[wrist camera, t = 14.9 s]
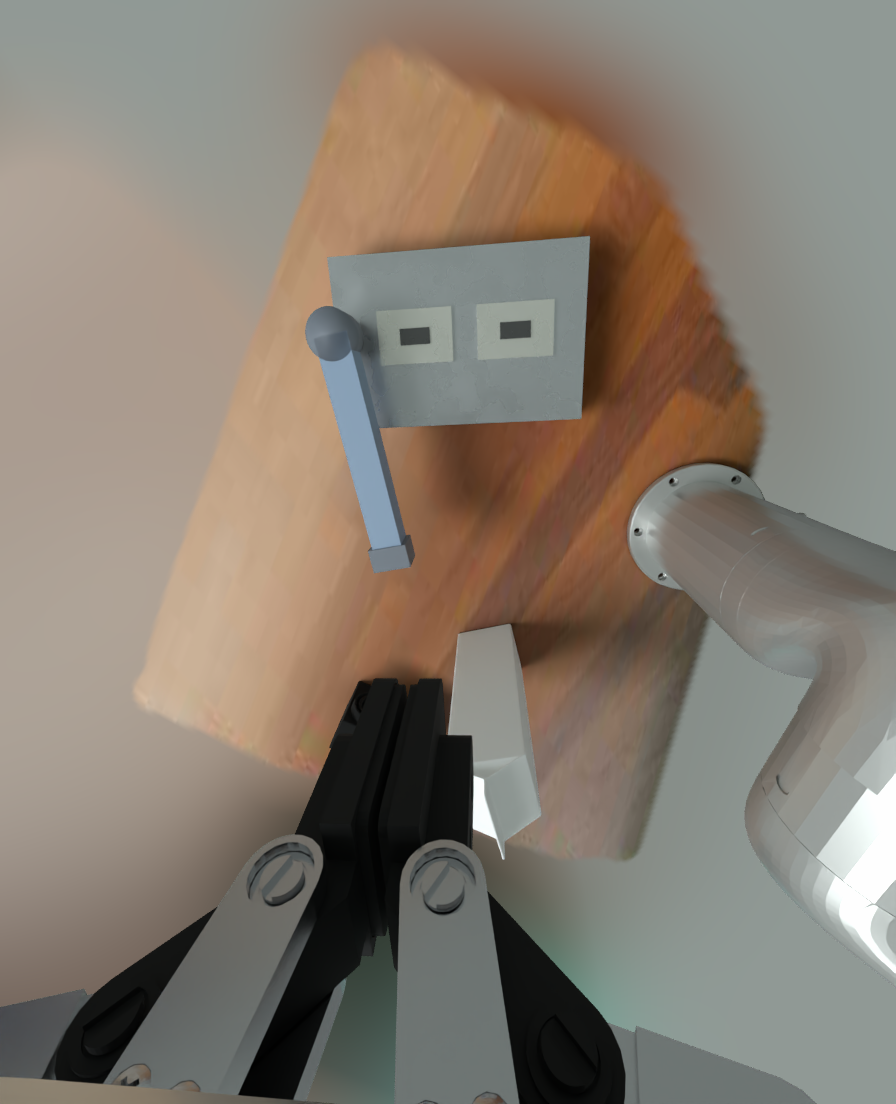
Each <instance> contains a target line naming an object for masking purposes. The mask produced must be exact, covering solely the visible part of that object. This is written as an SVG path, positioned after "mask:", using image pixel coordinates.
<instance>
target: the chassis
mask: <svg viewBox="0 0 896 1104" xmlns="http://www.w3.org/2000/svg"><path fill="white" fill-rule="evenodd" d="M589 247H590V236H586V237H574V238H561V239H549V240H536V241H524V242H512V243H499V244H487V245H475V246H462V247H450V248H437V249H425V250H413V251H400V252H388V253H376V254H363V255H351V256H338V257H327V259H328V267H329V275H330V284H331V292H332V300H333V307H336V308H338V309H340V310H342V311H344V312H345V313H347V314H349V315H351V316H352V317H353V318H355V320H356V321H357V322H358V323H359V325H360V327H361V329H362V332H363V346H362V350H361V352H360V353H361V357H362V361H363V365H364V369H365V373H366V377H367V381H368V385H369V389H370V393H371V397H372V401H373V406H374V410H375V414H376V418H377V422H378V426H379V428H392V427H414V426H435V425H457V424H478V423H500V422H521V421H543V420H564V419H581V414H582V393H583V372H584V351H585V330H586V310H587V289H588V268H589Z"/></svg>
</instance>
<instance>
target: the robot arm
mask: <svg viewBox="0 0 896 1104" xmlns="http://www.w3.org/2000/svg"><path fill="white" fill-rule="evenodd" d="M733 477H734V479H733V480H732V481H731V479H732V478H733ZM671 478H672V479H673V480H672V482H671V483H669V481H670V479H671ZM636 528H638V530H637V531H635V532H634V530H635V529H636ZM627 541H628V547H629V550H630V553H631V556H632V557H633V559H634V561H635V563H636V564H637V566H638V567H639V568H640V569H641V571H642V572H644V573H645V574H646V575H647V576H648V577H649V578H650V579H652V580H653V581H655V582H656V583H658V584H661V585H663V586H666V587H669V588H673V589H680V590H684V591H685V592H686V593H687V594H688V595H689V596H690V597H691V598H692V599H693V600H694V601H695V602H696V603H697V604H698V605H699V606H700V607H701V608H702V609H703V610H704V611H705V612H706V613H707V614H708V615H709V616H710V617H711V618H712V619H713V620H714V621H715V622H716V623H717V624H718V625H719V626H720V627H721V628H722V629H723V630H724V631H725V632H726V633H727V634H728V635H729V636H730V637H731V638H732V639H733V640H734V641H735V642H736V643H737V644H738V645H739V646H740V647H741V648H742V649H743V650H744V651H745V652H746V653H747V654H748V655H750V656H751V657H752V658H754V659H755V660H756V661H758V662H760V663H761V664H763V665H765V666H766V667H769V668H771V669H773V670H776V671H778V672H781V673H784V674H787V675H791V676H796V677H802V678H808V679H813V681H812V683H811V685H810V687H809V689H808V691H807V692H806V694H805V695H804V697H803V699H802V700H801V702H800V704H799V706H798V711H797V712H796V714H795V715H794V717H793V719H792V720H791V722H790V724H789V725H788V727H787V728H786V730H785V732H784V733H783V735H782V737H781V738H780V740H779V741H778V743H777V745H776V746H775V748H774V750H773V751H772V753H771V754H770V756H769V758H768V760H767V761H766V763H765V765H764V766H763V768H762V769H761V771H760V773H759V774H758V776H757V778H756V780H755V782H754V784H753V786H752V788H751V790H750V792H749V795H748V798H747V801H746V806H745V827H746V830H747V834H748V838H749V841H750V843H751V845H752V847H753V849H754V851H755V853H756V855H757V857H758V859H759V860H760V862H761V863H762V865H763V866H764V868H765V869H766V870H767V872H768V873H769V874H770V876H771V877H772V878H773V880H774V881H775V882H776V883H777V885H778V886H779V887H780V888H781V889H782V890H783V891H784V893H785V894H787V896H788V897H789V898H790V899H791V900H792V901H793V902H794V903H795V904H796V905H797V906H798V907H799V908H800V909H801V910H802V911H803V912H804V913H805V914H807V915H808V916H809V917H810V918H811V919H812V920H813V921H814V922H815V923H817V924H818V925H819V926H820V927H821V928H822V929H823V930H824V931H825V932H826V933H828V934H829V935H830V936H831V937H833V938H834V939H835V940H836V941H837V942H839V943H840V944H841V945H842V946H844V947H845V948H846V949H847V950H848V951H850V952H851V953H852V954H853V955H855V956H856V957H857V958H858V959H860V960H861V961H862V962H863V963H865V964H866V965H867V966H869V967H870V968H871V969H872V970H874V971H875V972H876V973H877V974H879V975H880V976H881V977H883V978H884V979H885V980H886V981H888V982H889V983H890V984H891V985H893V986H894V987H895V988H896V551H893V550H890V549H887V548H884V547H882V546H879V545H876V544H874V543H871V542H868V541H866V540H863V539H861V538H858V537H856V536H853V535H851V534H848V533H845V532H843V531H840V530H838V529H835V528H833V527H830V526H828V525H825V524H822V523H820V522H818V521H815V520H813V519H810V518H808V517H806V515H805V514H804V513H795V512H793V511H790V510H788V509H785V508H783V507H780V506H778V505H775V504H773V503H770V502H768V501H765V499H764V497H763V494H762V492H761V490H760V489H759V488H758V486H757V485H756V484H755V482H754V481H753V480H751V479H750V478H749V477H748V476H747V475H745V474H744V473H742V472H740V471H738V470H736V469H734V468H731V467H728V466H725V465H721V464H714V463H695V464H690V465H686V466H682V467H679V468H677V469H674V470H672V471H669V472H668V473H666V474H665V475H663V476H661V477H660V478H658V479H657V480H656V481H654V482H653V483H652V484H651V485H650V486H649V487H648V488H647V489H646V490H645V491H644V492H643V494H642V495H641V496H640V497H639V499H638V500H637V502H636V504H635V506H634V507H633V509H632V512H631V515H630V518H629V521H628V528H627ZM660 573H661V575H659V574H660ZM658 575H659V576H658ZM473 797H474V771H473V742H472V735H446V729H445V713H444V698H443V683H442V679H419V682H418V685H411V686H410V690H409V694H408V698H407V693H406V686H405V685H399V684H398V680H397V679H394V678H375V679H374V680H373V682H372V685H371V688H370V690H369V693H368V696H367V698H366V701H365V704H364V706H363V709H362V712H361V714H360V717H359V719H358V722H357V725H356V727H355V730H354V733H353V734H339V735H338V736H337V737H336V739H335V741H334V743H333V745H332V748H331V750H330V752H329V755H328V757H327V759H326V762H325V764H324V767H323V769H322V771H321V774H320V776H319V778H318V781H317V783H316V785H315V788H314V790H313V793H312V795H311V797H310V800H309V802H308V804H307V807H306V809H305V811H304V814H303V816H302V819H301V821H300V823H299V826H298V828H297V830H296V833H295V835H287V836H283V837H280V838H277V839H275V840H273V841H271V842H269V843H267V844H265V845H264V846H263V847H262V848H261V849H259V850H258V851H257V852H256V853H254V855H253V856H252V857H251V858H250V859H249V861H248V862H247V863H246V864H245V866H244V867H243V869H242V870H241V872H240V874H239V875H238V877H237V878H236V880H235V881H234V883H233V884H232V886H231V887H230V889H229V891H228V892H227V894H226V895H225V897H224V898H223V900H222V901H221V903H220V904H219V906H218V907H216V908H215V909H214V910H212V911H211V912H209V913H207V914H206V915H205V916H203V917H202V918H200V919H199V920H197V921H196V922H194V923H193V924H192V925H190V926H189V927H187V928H186V929H184V930H183V931H181V932H180V933H178V934H177V935H175V936H174V937H172V938H171V939H170V940H168V941H167V942H165V943H164V944H162V945H161V946H159V947H158V948H156V949H155V950H154V951H152V952H151V953H149V954H148V955H146V956H145V957H143V958H142V959H140V960H139V961H138V962H136V963H135V964H133V965H132V966H130V967H129V968H127V969H126V970H124V971H123V972H121V973H120V974H119V975H117V976H116V977H114V978H113V979H111V980H110V981H109V982H108V983H107V984H105V985H104V986H103V987H102V988H101V989H99V990H98V991H97V992H96V993H94V994H91V995H87V993H86V992H85V990H84V989H81V990H76V991H72V992H67V993H63V994H58V995H54V996H49V997H44V998H40V999H36V1000H31V1001H27V1002H22V1003H17V1004H12V1005H8V1006H4V1007H0V1104H331V1103H320V1102H308V1101H306V1099H307V1096H308V1094H309V1091H310V1088H311V1085H312V1082H313V1079H314V1076H315V1074H316V1071H317V1068H318V1065H319V1062H320V1059H321V1056H322V1053H323V1050H324V1048H325V1045H326V1042H327V1039H328V1037H329V1034H330V1031H331V1028H332V1025H333V1022H334V1019H335V1016H336V1014H337V1011H338V1008H339V1005H340V1002H341V999H342V996H343V993H344V988H345V984H346V977H347V976H348V975H349V974H350V973H351V972H353V971H354V970H355V969H356V968H357V967H358V966H359V965H360V961H361V956H373V953H374V947H375V941H376V937H377V936H385V935H386V931H387V927H389V935H390V942H391V949H392V955H393V963H394V968H395V969H396V971H397V972H398V983H397V985H398V986H397V1024H396V1066H395V1104H816V1103H815V1102H814V1101H813V1100H812V1099H811V1098H810V1097H809V1096H808V1095H807V1094H806V1093H805V1092H804V1091H802V1090H801V1089H799V1088H797V1087H796V1086H794V1085H792V1084H790V1083H788V1082H787V1081H785V1080H783V1079H781V1078H779V1077H777V1076H774V1075H771V1074H768V1073H766V1072H762V1071H760V1070H757V1069H754V1068H752V1067H749V1066H746V1065H743V1064H740V1063H738V1062H735V1061H732V1060H729V1059H726V1058H724V1057H721V1056H718V1055H715V1054H712V1053H710V1052H707V1051H704V1050H701V1049H698V1048H696V1047H693V1046H690V1045H688V1044H684V1043H682V1042H679V1041H676V1040H674V1039H671V1038H668V1037H665V1036H663V1035H660V1034H657V1033H654V1032H651V1031H648V1030H646V1029H643V1028H640V1027H637V1026H636V1030H635V1033H634V1032H631V1031H629V1030H626V1029H623V1028H620V1027H618V1026H615V1025H612V1024H610V1023H607V1022H606V1020H605V1019H604V1018H603V1016H602V1015H601V1014H600V1012H599V1011H598V1010H597V1009H596V1008H595V1006H594V1005H593V1004H592V1003H591V1002H590V1001H589V1000H588V999H587V998H586V997H585V996H584V995H583V994H582V992H581V991H580V990H579V989H578V988H576V986H575V985H574V984H573V983H572V982H571V981H570V980H569V978H568V977H567V976H566V975H565V974H564V973H563V972H562V971H561V970H560V969H559V968H558V967H557V966H556V965H555V963H554V962H553V961H552V960H551V959H550V958H549V957H548V956H547V955H546V954H545V953H544V952H543V950H542V949H541V948H540V947H539V946H538V945H537V944H536V943H535V942H534V941H533V940H532V939H531V938H530V936H529V935H528V934H527V933H526V932H525V931H524V930H523V929H522V928H521V927H520V926H519V925H518V923H516V921H515V920H514V919H513V918H512V917H511V916H510V915H509V914H508V913H507V912H506V911H505V910H504V908H503V907H502V906H501V905H500V904H499V903H498V902H497V901H496V900H495V899H494V898H493V897H492V896H491V894H489V892H488V891H487V887H486V880H485V874H484V870H483V867H482V864H481V862H480V860H479V859H478V857H477V856H476V855H475V853H474V852H473V851H472V838H473Z"/></svg>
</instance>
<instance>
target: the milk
mask: <svg viewBox="0 0 896 1104" xmlns="http://www.w3.org/2000/svg"><path fill="white" fill-rule="evenodd" d="M448 735H472V742H473V771H474V797H473V829H475V830H477V831H480V832H482V833H484V834H486V835H489V836H491V837H493V838H496V839H497V842H498V846H499V848H500V852H501V855H502V859H505V849H504V842H505V841H506V840H507V839H508V838H510V837H511V836H513V835H514V834H516V833H517V832H518V831H520V830H521V829H523V828H524V827H526V826H527V825H528V824H530V823H531V822H533V821H534V820H536V819H537V818H538V817H540V816H541V807H540V800H539V792H538V785H537V778H536V770H535V763H534V756H533V748H532V741H531V734H530V726H529V719H528V712H527V704H526V697H525V690H524V682H523V675H522V668H521V664H520V660H519V656H518V652H517V647H516V643H515V639H514V635H513V631H512V627H511V624H505V625H500V626H495V627H490V628H485V629H480V630H475V631H469V632H464V633H459V634H458V642H457V652H456V662H455V672H454V682H453V692H452V701H451V711H450V721H449V731H448Z"/></svg>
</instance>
